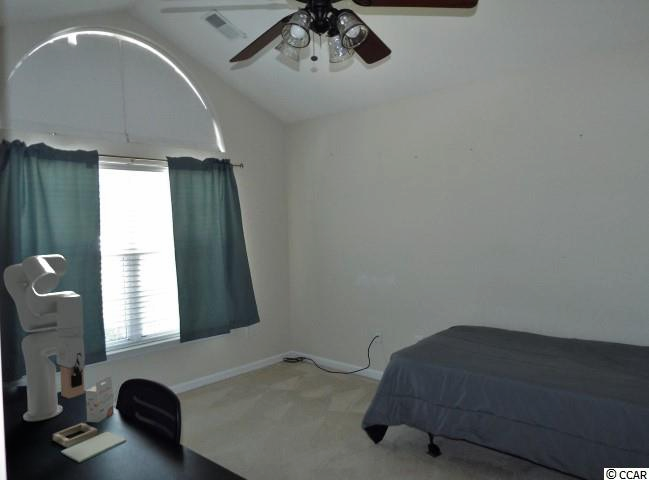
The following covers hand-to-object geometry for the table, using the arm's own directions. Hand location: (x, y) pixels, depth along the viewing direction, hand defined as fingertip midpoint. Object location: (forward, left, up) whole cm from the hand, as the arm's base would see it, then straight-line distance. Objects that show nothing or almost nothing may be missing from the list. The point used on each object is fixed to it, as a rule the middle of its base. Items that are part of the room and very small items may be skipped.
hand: (72, 384), depth 145 cm
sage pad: (+12, 0, -18) cm, 22 cm away
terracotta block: (0, 0, -4) cm, 4 cm away
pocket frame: (0, 0, -18) cm, 18 cm away
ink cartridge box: (-8, +13, -19) cm, 24 cm away
